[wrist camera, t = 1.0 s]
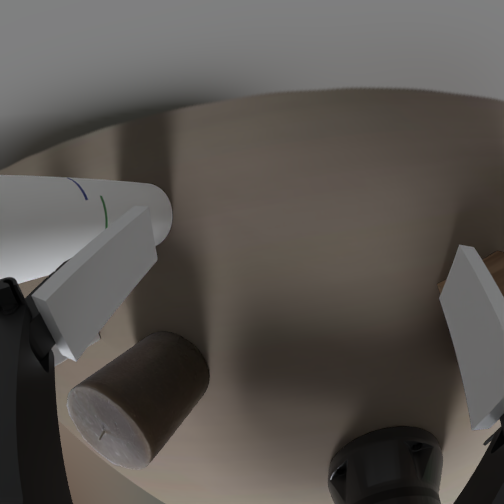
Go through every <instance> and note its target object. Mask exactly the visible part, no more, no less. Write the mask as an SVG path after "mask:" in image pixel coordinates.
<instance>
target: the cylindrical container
mask: <svg viewBox="0 0 504 504" xmlns="http://www.w3.org/2000/svg"><path fill="white" fill-rule="evenodd" d="M134 206H145V207H149V210H150V216H151V223H152V229H153V235H154V241H155V246H157V245H159V244H160V243H161V242H162V241H163V240H164V239H165V238H166V237H167V235H168V233H169V231H170V228H171V225H172V218H173V215H172V207H171V203H170V201H169V198H168V197H167V195H166V194H165V192H164V191H163V190H162V189H160V188H159V187H157V186H156V185H153V184H148V183H138V182H127V181H115V180H101V179H85V178H67V177H46V176H18V175H0V279H3V278H7V277H12V278H15V279H16V281H17V283H18V284H19V283H22V282H26V281H29V280H33V279H36V278H40V277H43V276H47V275H50V274H51V273H52V272H53V271H55V270H56V269H57V268H58V267H59V266H60V265H61V264H62V263H63V262H65V261H67V260H69V259H70V258H72V257H73V256H74V255H75V254H77V253H78V252H79V251H80V250H81V249H82V248H84V247H85V246H86V245H87V244H88V243H89V242H91V241H92V240H93V239H94V238H95V237H96V236H98V235H99V234H100V233H101V232H103V231H104V230H105V229H106V228H107V227H109V226H110V225H111V224H112V223H114V222H115V221H116V220H117V219H119V218H120V217H121V216H122V215H124V214H125V213H126V212H127V211H129V210H130V209H131V208H133V207H134Z"/></svg>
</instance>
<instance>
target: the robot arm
mask: <svg viewBox="0 0 504 504" xmlns="http://www.w3.org/2000/svg"><path fill="white" fill-rule="evenodd" d="M157 260H158V258H157V253H156V247H155V241H154V235H153V229H152V223H151V216H150V210H149V207H145V206H134V207H133V208H131V209H130V210H129V211H127V212H126V213H125V214H124V215H122V216H121V217H120V218H119V219H117V220H116V221H115V222H114V223H112V224H111V225H110V226H109V227H107V228H106V229H105V230H104V231H103V232H101V233H100V234H99V235H98V236H96V237H95V238H94V239H93V240H92V241H91V242H89V243H88V244H87V245H86V246H85V247H84V248H82V249H81V250H80V251H79V252H78V253H77V254H75V255H74V256H73V257H72V258H70V259H69V260H67V261H65V262H63V263H62V264H61V265H60V266H59V267H58V268H57V269H56V270H55V271H53V272H52V273H51V274H50V275H49V277H48V278H46V279H45V280H44V281H43V282H42V283H41V284H40V285H38V286H37V287H36V288H35V289H34V290H33V291H32V292H31V293H30V294H29V295H28V296H27V297H26V298H24V296H23V294H22V292H21V290H20V287H19V285H18V283H17V281H16V279H15V278H12V277H7V278H3V279H0V504H73V503H72V499H71V495H70V490H69V486H68V481H67V476H66V471H65V466H64V460H63V455H62V448H61V441H60V434H59V425H58V416H57V405H56V391H55V368H54V354H53V351H52V350H51V349H52V347H53V346H54V345H55V344H56V345H57V347H58V349H59V351H60V352H61V354H62V355H63V356H65V357H68V358H70V359H72V360H74V361H76V362H77V360H78V359H79V358H80V356H81V355H82V354H83V352H84V351H85V350H86V348H87V347H88V346H89V344H90V343H91V342H92V340H93V339H94V338H95V336H96V335H97V334H98V333H99V331H100V330H101V329H102V327H103V326H104V325H105V324H106V322H107V321H108V320H109V319H110V317H111V316H112V315H113V313H114V312H115V311H116V310H117V308H118V307H119V306H120V305H121V303H122V302H123V301H124V300H125V299H126V297H127V296H128V295H129V294H130V292H131V291H132V290H133V289H134V288H135V286H136V285H137V284H138V283H139V282H140V280H141V279H142V278H143V277H144V276H145V274H146V273H147V272H148V271H149V270H150V268H151V267H152V266H153V265H154V264H155V263H156V261H157ZM439 300H440V303H441V306H442V309H443V312H444V315H445V318H446V321H447V324H448V328H449V331H450V334H451V338H452V341H453V345H454V349H455V352H456V356H457V360H458V364H459V368H460V372H461V376H462V381H463V385H464V390H465V395H466V400H467V405H468V410H469V416H470V422H471V428H472V430H480V429H489V428H490V427H491V426H492V425H493V424H494V423H496V422H497V421H498V420H499V419H500V421H501V427H500V428H499V429H498V430H497V431H496V432H495V433H494V434H493V435H492V436H490V437H489V438H488V439H487V440H486V441H485V442H484V445H487V444H488V443H489V442H490V441H491V443H490V445H489V447H488V449H487V451H486V452H485V454H484V456H483V458H482V460H481V461H480V463H479V465H478V466H477V468H476V470H475V472H474V473H473V475H472V476H471V478H470V480H469V481H468V483H467V484H466V486H465V487H464V489H463V490H462V492H461V493H460V495H459V496H458V498H457V499H456V501H455V502H454V503H453V504H504V297H503V295H502V293H501V292H500V290H499V288H498V286H497V284H496V283H495V281H494V279H493V277H492V276H491V274H490V272H489V271H488V269H487V267H486V266H485V264H484V262H483V261H482V259H481V257H480V256H479V254H478V253H477V251H476V250H475V248H474V247H470V246H465V245H459V247H458V250H457V253H456V255H455V258H454V261H453V264H452V267H451V269H450V272H449V275H448V277H447V280H446V282H445V285H444V287H443V290H442V292H441V295H440V297H439ZM442 466H443V456H442V452H441V449H440V446H439V443H438V441H437V439H436V438H435V437H434V436H433V435H432V434H431V433H429V432H427V431H425V430H423V429H420V428H415V427H392V428H386V429H381V430H378V431H374V432H371V433H368V434H366V435H364V436H361V437H359V438H357V439H355V440H354V441H352V442H350V443H349V444H347V445H346V446H345V447H344V448H342V449H341V450H340V451H339V452H338V453H337V454H336V456H335V457H334V458H333V460H332V462H331V464H330V467H329V475H328V487H329V491H330V493H331V496H332V498H333V501H334V503H335V504H441V503H440V498H439V487H440V481H441V474H442Z"/></svg>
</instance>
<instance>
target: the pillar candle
mask: <svg viewBox="0 0 504 504" xmlns="http://www.w3.org/2000/svg"><path fill="white" fill-rule="evenodd" d="M208 384H209V370H208V367H207V364H206V362H205V359H204V358H203V356H202V355H201V354H200V352H199V350H198V349H197V348H196V347H195V346H194V345H193V344H192V343H190V342H189V341H188V340H186V339H184V338H183V337H181V336H179V335H176V334H174V333H170V332H156V333H153V334H151V335H149V336H147V337H146V338H144V339H143V340H142V341H140V342H139V343H137V344H136V345H134V346H133V347H132V348H130V349H129V350H127V351H126V352H124V353H123V354H122V355H120V356H119V357H117V358H116V359H114V360H113V361H111V362H110V363H108V364H107V365H106V366H104V367H103V368H101V369H100V370H98V371H97V372H95V373H94V374H93V375H91V376H90V377H88V378H87V379H85V380H84V381H82V382H81V383H80V384H78V385H77V386H75V387H74V388H73V389H72V390H71V391H70V392H69V394H68V399H67V408H68V412H69V415H70V417H71V419H72V420H73V422H74V424H75V426H76V428H77V430H78V431H79V432H80V433H81V435H82V437H83V438H84V439H85V440H86V441H87V442H88V443H89V444H90V445H91V446H92V447H93V448H94V449H95V450H96V451H97V452H98V453H99V454H101V455H102V456H103V457H105V458H106V459H107V460H109V461H110V462H111V463H113V464H115V465H117V466H122V467H125V468H129V469H142V468H145V467H147V466H148V465H149V463H150V462H151V461H152V460H153V459H154V457H155V456H156V455H157V454H158V452H159V451H160V450H161V449H162V448H163V446H164V445H165V444H166V443H167V441H168V440H169V439H170V437H171V436H172V435H173V434H174V433H175V431H176V430H177V428H178V427H179V426H180V425H181V424H182V422H183V420H184V419H185V418H186V417H187V416H188V414H189V413H190V412H191V411H192V409H193V408H194V406H195V405H196V404H197V403H198V401H199V400H200V399H201V397H202V396H203V395H204V393H205V392H206V390H207V387H208Z"/></svg>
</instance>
